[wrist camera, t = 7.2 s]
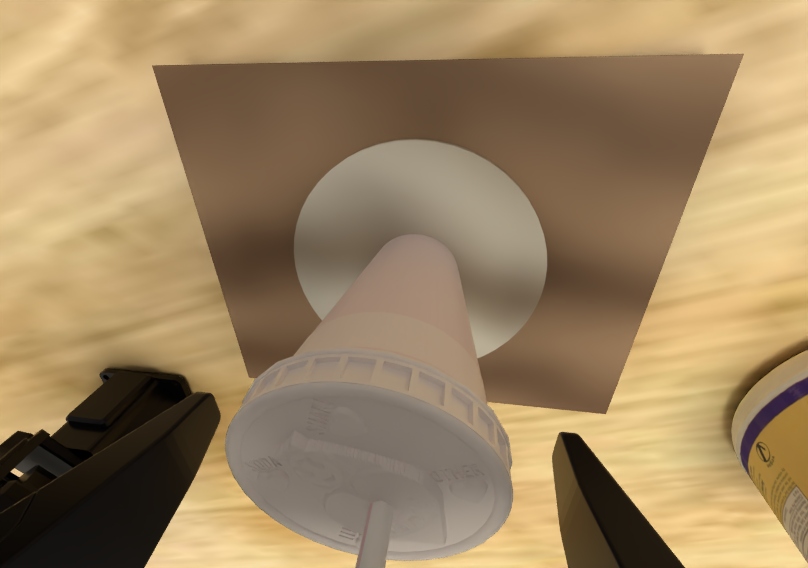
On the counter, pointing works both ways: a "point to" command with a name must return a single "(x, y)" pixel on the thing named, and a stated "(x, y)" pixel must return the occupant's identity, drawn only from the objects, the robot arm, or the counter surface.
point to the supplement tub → (778, 443)
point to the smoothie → (380, 421)
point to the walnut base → (452, 196)
